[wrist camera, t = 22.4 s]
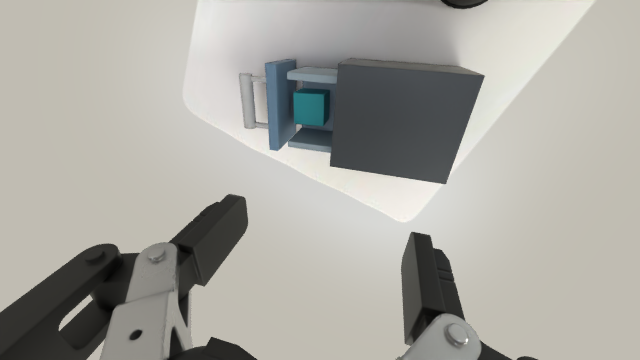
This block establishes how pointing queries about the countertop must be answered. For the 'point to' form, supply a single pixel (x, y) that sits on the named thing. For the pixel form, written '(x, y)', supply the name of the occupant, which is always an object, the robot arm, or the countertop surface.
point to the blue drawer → (289, 104)
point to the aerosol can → (463, 3)
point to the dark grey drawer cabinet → (401, 117)
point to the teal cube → (311, 106)
